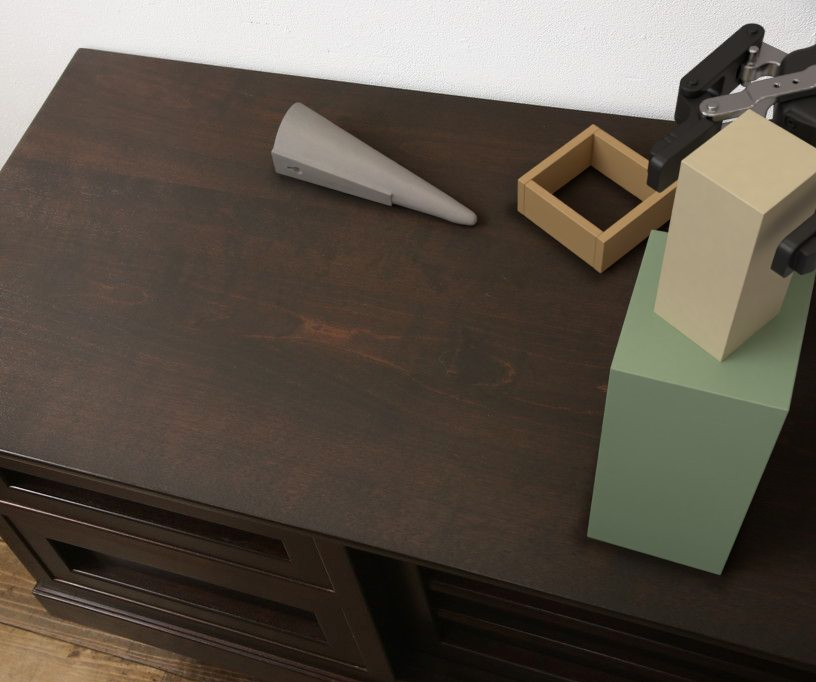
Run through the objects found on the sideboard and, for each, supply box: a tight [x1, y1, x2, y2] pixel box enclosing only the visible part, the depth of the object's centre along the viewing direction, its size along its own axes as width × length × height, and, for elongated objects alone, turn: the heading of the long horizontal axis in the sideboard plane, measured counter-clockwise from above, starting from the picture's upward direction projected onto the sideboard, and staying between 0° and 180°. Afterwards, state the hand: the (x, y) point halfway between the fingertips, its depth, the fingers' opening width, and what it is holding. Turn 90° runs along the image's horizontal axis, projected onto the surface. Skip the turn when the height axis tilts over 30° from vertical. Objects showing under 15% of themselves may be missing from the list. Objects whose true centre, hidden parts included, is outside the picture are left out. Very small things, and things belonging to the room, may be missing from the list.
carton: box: [654, 109, 816, 362], centre depth 54 cm, size 5×5×12 cm
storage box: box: [517, 124, 678, 274], centre depth 90 cm, size 10×9×4 cm
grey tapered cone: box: [271, 102, 478, 226], centre depth 96 cm, size 6×6×19 cm
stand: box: [586, 229, 816, 576], centre depth 68 cm, size 9×10×22 cm
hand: (715, 218), depth 50 cm, fingers open, 6 cm apart
